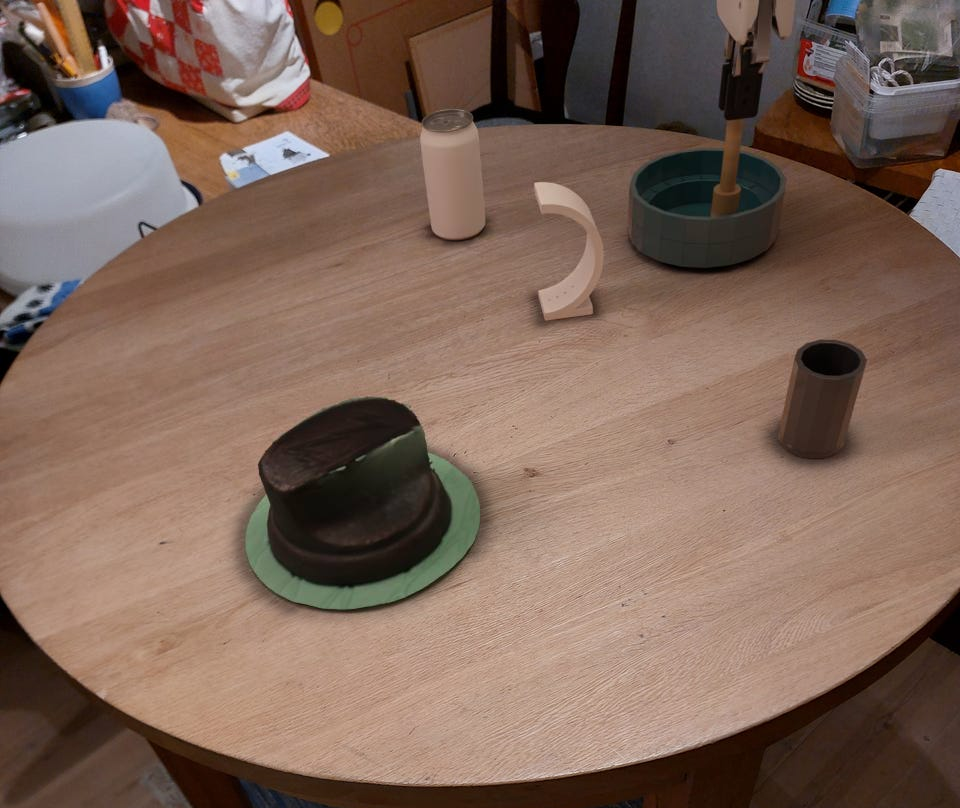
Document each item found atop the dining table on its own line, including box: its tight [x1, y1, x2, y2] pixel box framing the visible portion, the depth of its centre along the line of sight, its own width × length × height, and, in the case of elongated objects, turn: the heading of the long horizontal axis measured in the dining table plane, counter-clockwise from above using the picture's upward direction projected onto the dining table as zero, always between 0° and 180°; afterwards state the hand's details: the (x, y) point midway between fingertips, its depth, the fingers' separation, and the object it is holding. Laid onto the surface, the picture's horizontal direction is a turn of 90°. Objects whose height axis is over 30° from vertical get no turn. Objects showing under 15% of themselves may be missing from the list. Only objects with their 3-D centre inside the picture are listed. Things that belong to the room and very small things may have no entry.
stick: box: [711, 47, 752, 217], centre depth 92 cm, size 3×3×17 cm
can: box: [419, 108, 486, 241], centre depth 102 cm, size 6×6×12 cm
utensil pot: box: [778, 339, 868, 460], centre depth 75 cm, size 5×6×8 cm
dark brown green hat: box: [245, 395, 481, 610], centre depth 74 cm, size 15×19×20 cm
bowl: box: [627, 147, 788, 269], centre depth 98 cm, size 16×16×6 cm
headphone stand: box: [533, 181, 605, 322], centre depth 90 cm, size 5×6×12 cm
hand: (737, 111), depth 89 cm, fingers closed on stick, 1 cm apart
